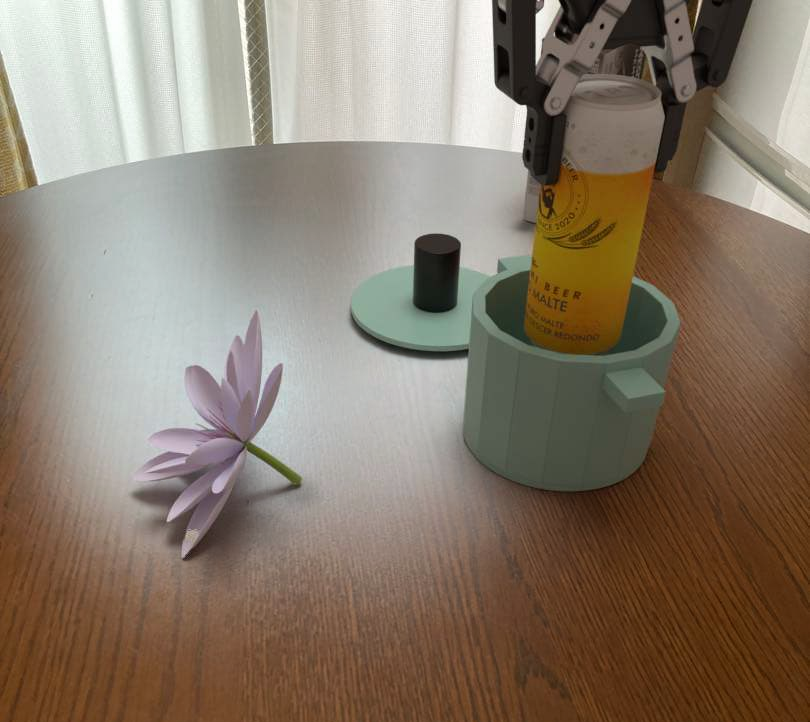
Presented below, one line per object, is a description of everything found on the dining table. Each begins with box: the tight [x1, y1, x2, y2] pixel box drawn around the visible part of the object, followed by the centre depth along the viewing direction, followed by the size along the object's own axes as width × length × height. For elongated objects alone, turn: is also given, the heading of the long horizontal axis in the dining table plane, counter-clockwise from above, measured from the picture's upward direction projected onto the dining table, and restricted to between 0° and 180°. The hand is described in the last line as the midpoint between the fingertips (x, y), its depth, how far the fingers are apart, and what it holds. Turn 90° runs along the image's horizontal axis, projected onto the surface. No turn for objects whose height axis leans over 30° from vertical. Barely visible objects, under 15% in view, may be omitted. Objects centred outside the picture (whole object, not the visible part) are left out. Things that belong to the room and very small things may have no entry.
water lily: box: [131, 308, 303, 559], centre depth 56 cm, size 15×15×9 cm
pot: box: [462, 254, 681, 492], centre depth 60 cm, size 13×18×10 cm
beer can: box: [524, 74, 665, 356], centre depth 53 cm, size 6×6×15 cm
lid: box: [350, 232, 492, 352], centre depth 73 cm, size 14×14×6 cm
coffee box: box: [522, 34, 647, 224], centre depth 85 cm, size 9×6×16 cm
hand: (597, 173), depth 51 cm, fingers closed on beer can, 6 cm apart
